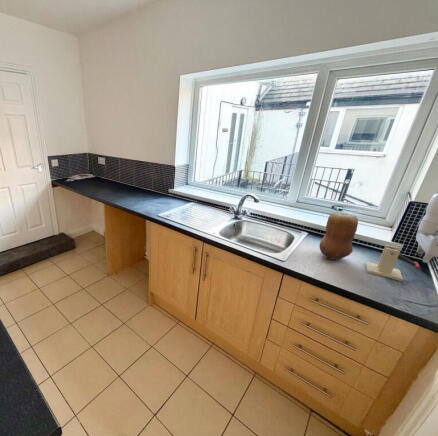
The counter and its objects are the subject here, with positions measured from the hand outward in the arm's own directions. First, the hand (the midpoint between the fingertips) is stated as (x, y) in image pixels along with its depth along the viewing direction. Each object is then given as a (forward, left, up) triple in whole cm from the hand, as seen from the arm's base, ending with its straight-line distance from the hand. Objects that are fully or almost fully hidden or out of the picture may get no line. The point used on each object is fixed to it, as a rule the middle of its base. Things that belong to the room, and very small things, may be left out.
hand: (422, 257), depth 106 cm
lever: (+6, 0, -3) cm, 7 cm away
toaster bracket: (+10, 0, -11) cm, 15 cm away
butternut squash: (+30, -1, -12) cm, 32 cm away
